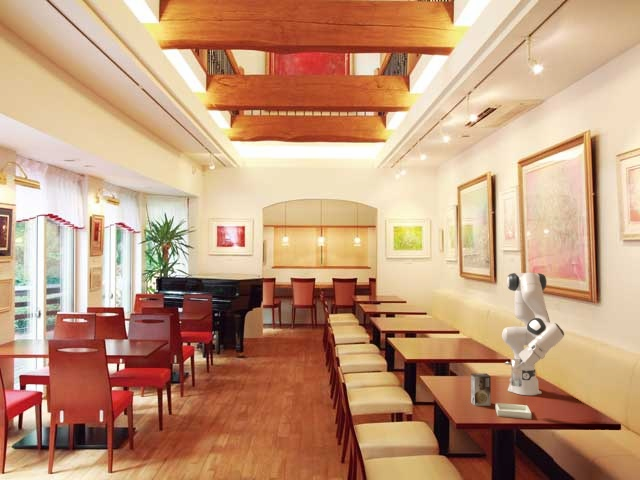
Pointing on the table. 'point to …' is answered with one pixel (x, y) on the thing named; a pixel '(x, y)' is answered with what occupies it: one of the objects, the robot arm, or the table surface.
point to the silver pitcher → (515, 372)
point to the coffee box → (480, 389)
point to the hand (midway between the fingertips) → (516, 367)
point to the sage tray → (513, 410)
